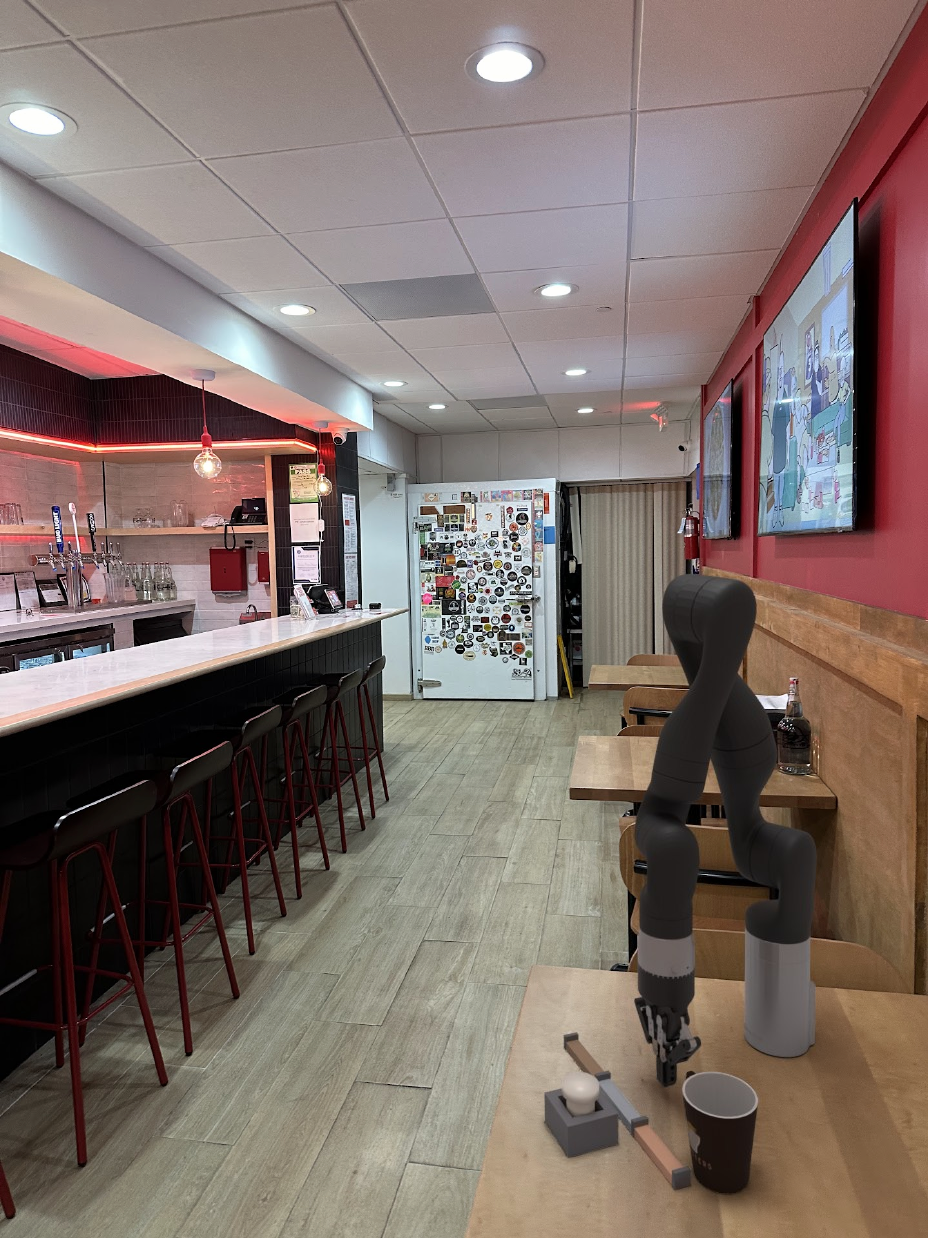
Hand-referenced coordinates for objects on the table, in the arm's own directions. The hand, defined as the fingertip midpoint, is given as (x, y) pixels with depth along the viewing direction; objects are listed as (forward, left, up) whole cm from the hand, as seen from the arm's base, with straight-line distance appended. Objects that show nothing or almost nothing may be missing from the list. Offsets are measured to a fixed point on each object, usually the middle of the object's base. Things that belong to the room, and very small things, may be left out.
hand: (666, 1082), depth 113 cm
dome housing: (+14, +2, -2) cm, 15 cm away
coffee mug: (+1, +13, -2) cm, 14 cm away
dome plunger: (+14, +2, -1) cm, 14 cm away
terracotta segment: (+7, +10, -2) cm, 12 cm away
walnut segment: (+7, -10, -2) cm, 13 cm away
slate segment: (+7, 0, -2) cm, 7 cm away
